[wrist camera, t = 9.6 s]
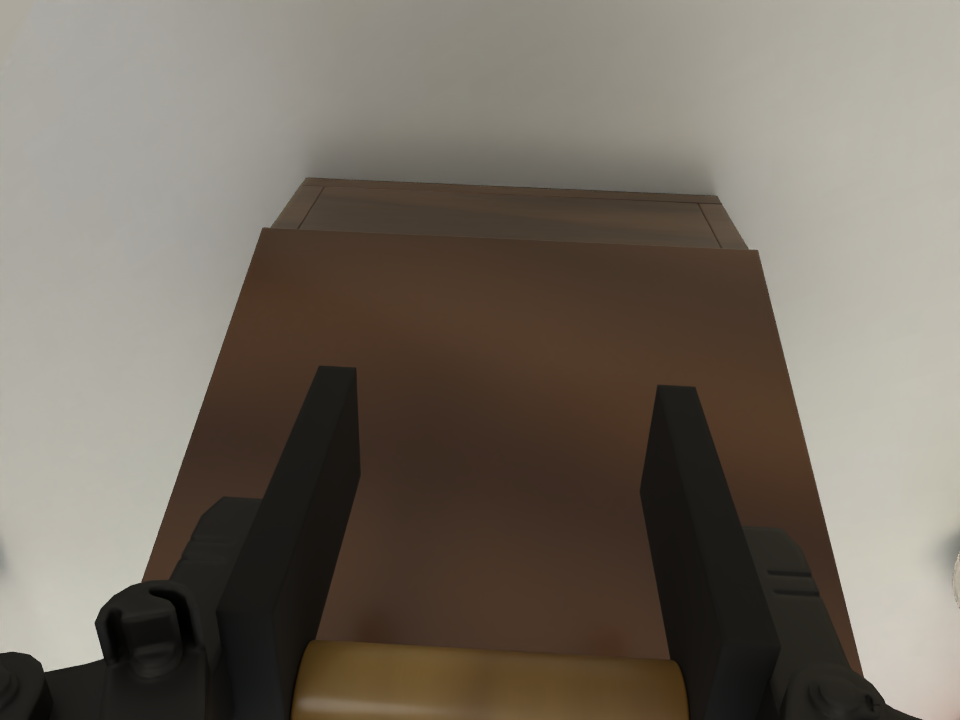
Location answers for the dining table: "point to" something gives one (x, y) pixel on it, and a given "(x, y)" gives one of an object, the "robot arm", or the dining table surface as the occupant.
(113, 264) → the dining table surface
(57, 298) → the dining table surface
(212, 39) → the dining table surface
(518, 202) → the wooden box
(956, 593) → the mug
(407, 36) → the dining table surface
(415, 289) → the lid
